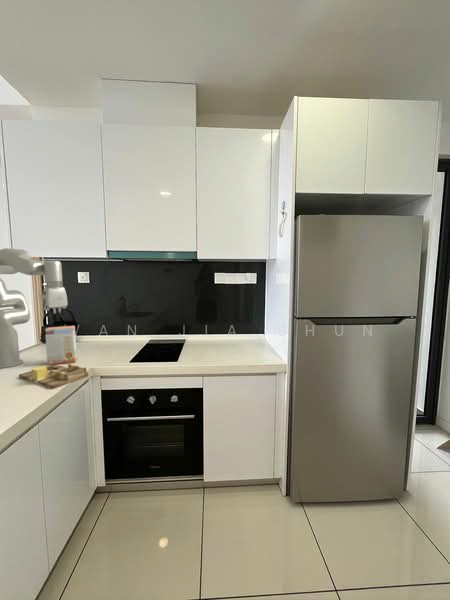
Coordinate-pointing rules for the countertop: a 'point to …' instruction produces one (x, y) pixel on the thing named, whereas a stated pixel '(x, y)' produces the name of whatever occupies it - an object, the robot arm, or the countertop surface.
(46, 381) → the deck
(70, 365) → the cubby
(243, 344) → the countertop surface
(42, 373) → the cube
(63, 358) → the cracker box
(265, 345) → the countertop surface
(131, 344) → the countertop surface
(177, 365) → the countertop surface
